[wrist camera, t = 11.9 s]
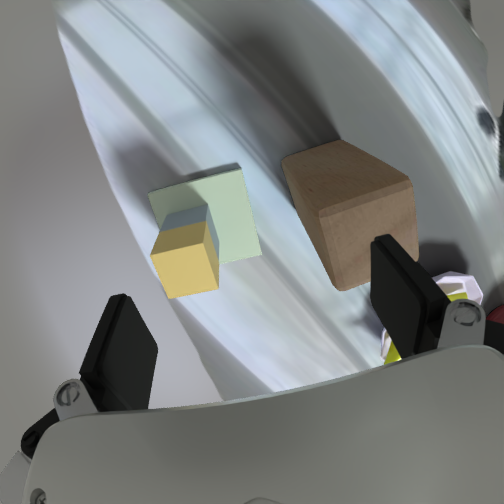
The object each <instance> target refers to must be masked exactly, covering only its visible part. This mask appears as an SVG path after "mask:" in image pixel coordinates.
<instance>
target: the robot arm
mask: <svg viewBox="0 0 504 504" xmlns="http://www.w3.org/2000/svg"><path fill="white" fill-rule="evenodd" d="M370 253H371V292H370V298H371V303H372V306H373V308H374V309H375V311H376V313H377V315H378V316H379V318H380V320H381V322H382V324H383V325H384V327H385V329H386V331H387V333H388V335H389V336H390V338H391V340H392V342H393V344H394V346H395V348H396V350H397V351H398V353H399V355H400V357H401V360H398V361H395V362H392V363H388V364H385V365H382V366H378V367H375V368H372V369H368V370H365V371H361V372H358V373H354V374H351V375H347V376H344V377H340V378H336V379H332V380H328V381H324V382H320V383H316V384H312V385H308V386H303V387H299V388H294V389H290V390H285V391H280V392H275V393H270V394H265V395H259V396H254V397H248V398H242V399H235V400H229V401H222V402H215V403H207V404H199V405H191V406H181V407H171V408H159V409H148V404H149V398H150V393H151V387H152V381H153V376H154V370H155V365H156V359H157V354H158V347H157V343H156V342H155V340H154V338H153V336H152V335H151V333H150V331H149V329H148V328H147V326H146V324H145V322H144V321H143V319H142V317H141V315H140V313H139V311H138V310H137V308H136V306H135V304H134V302H133V301H132V298H131V297H130V296H127V295H126V294H118V295H113V296H111V297H110V298H109V301H108V303H107V305H106V307H105V310H104V312H103V314H102V316H101V319H100V321H99V323H98V326H97V328H96V331H95V333H94V335H93V338H92V340H91V343H90V345H89V348H88V350H87V353H86V356H85V358H84V361H83V363H82V366H81V369H80V371H79V373H80V375H81V378H80V380H78V379H70V380H67V381H65V382H63V383H62V384H61V385H60V386H59V387H58V389H57V390H56V392H55V394H54V398H53V402H54V406H55V408H54V409H53V410H51V411H50V412H49V413H48V414H46V415H45V416H44V417H43V418H41V419H40V420H39V421H37V422H36V423H35V424H34V425H32V426H31V427H30V428H29V429H28V430H27V431H26V432H25V433H24V435H23V437H22V440H21V449H22V451H21V452H20V451H17V452H16V453H15V455H14V456H13V457H12V459H11V460H10V462H9V463H8V464H7V466H6V467H5V468H4V470H3V471H2V472H1V474H0V501H1V503H2V504H504V324H502V323H498V322H494V321H491V320H487V319H486V316H485V311H484V309H483V308H482V307H481V306H480V305H479V304H478V303H476V302H475V301H473V300H469V299H456V300H454V301H452V302H451V300H450V299H449V298H448V297H447V295H446V294H445V293H444V292H443V291H442V289H441V288H440V287H439V286H438V285H437V284H436V282H435V281H434V280H433V279H432V278H431V276H430V275H429V274H428V273H427V272H426V271H425V270H424V268H423V267H422V266H421V265H420V264H419V263H418V262H415V261H414V259H413V258H412V257H411V256H410V255H409V254H408V253H407V252H406V251H405V250H404V248H403V247H402V246H401V245H400V244H399V243H398V242H397V241H396V240H395V239H394V238H393V237H392V235H390V234H384V235H380V236H376V237H375V238H374V241H372V242H371V244H370Z"/></svg>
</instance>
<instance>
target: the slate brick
mask: <svg viewBox="0 0 504 504" xmlns="http://www.w3.org/2000/svg"><path fill="white" fill-rule="evenodd" d="M203 221H207V225H208V228H209V231H210V235H211V238H212V241H213V244H214V248H215V251H216V254H217V257H218V260H219V244H220V242H219V239H218V235H217V232H216V229H215V225H214V222H213V219H212V215H211V212H210V209H209V205H208V204H206V205H202V206H198V207H194V208H191V209H187V210H183V211H179V212H175V213H172V214H168V215H166V217H165V220H164V222H163V224H162V227H161V229H160V231H159V232H162V231H166V230H170V229H174V228H178V227H182V226H186V225H190V224H195V223H199V222H203Z"/></svg>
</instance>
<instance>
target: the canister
mask: <svg viewBox="0 0 504 504" xmlns="http://www.w3.org/2000/svg"><path fill="white" fill-rule="evenodd" d="M486 319H487V320H491V321H494V322H498V323H502V324H504V305H502V306H499V307H498V308H496V309H495V310H493V311H492V312H491V313H490V314H489V315H488V316H487V318H486Z"/></svg>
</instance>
